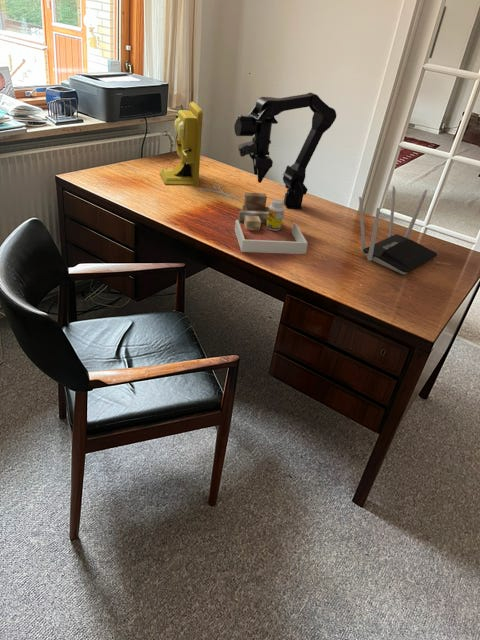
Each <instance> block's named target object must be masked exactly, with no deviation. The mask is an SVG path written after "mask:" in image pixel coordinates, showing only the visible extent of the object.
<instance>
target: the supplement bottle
mask: <svg viewBox="0 0 480 640" xmlns="http://www.w3.org/2000/svg"><path fill="white" fill-rule="evenodd" d="M283 205H284V200H281V199H278V198H277V199H272V201H271V204H270V205H269V206H268V208H269V210H268V216H267V223H265V227H266V229H268V230H269V231H274V232H277V231H279V230H281V229H282V226H283V220H284V213H285V207H284V206H283Z"/></svg>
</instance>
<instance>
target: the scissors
mask: <svg viewBox="0 0 480 640" xmlns="http://www.w3.org/2000/svg"><path fill="white" fill-rule="evenodd" d="M218 186H219V187H218ZM212 187H213V189H217V188H218V190H219V191H218V190H217V191H216V190H211V189H209V188H199V187H197V188H196V190H201V191H202V190H203V191H202V192H206V191H208V192H211V191H212V193H218V194H220V195H224V196H225V197H227V198H229V199H231V200H233V201H234V202H237V200H235V199H239V200H241V198H240V197H237V196H234V195H231V194H229V193H226V192H225V191H223V190H222V189H221V186H220V185H217V184H214V185H212ZM232 197H233V198H232ZM234 198H235V199H234Z"/></svg>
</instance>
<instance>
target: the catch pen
mask: <svg viewBox="0 0 480 640" xmlns="http://www.w3.org/2000/svg"><path fill="white" fill-rule="evenodd" d="M291 228H292V229H291V235H292V236H293V238H294V240H295V241H291V240H290V241H289V240H269V239H268V240H265V239H263V240H260V239H245V235H244V233H243V230H242V227H241V224H240V222H239V220H238V219H235V224H234V232H235V233H234V234H235V235H236V239H237V241H238V245H239V247H240V248H239V249H240V251H241V253H262V254H290V255H292V254H293V255H306V254H307V248H308V241H307V240H306V237H305V236H304V235H303V233H302V231H301V230H300V228H299V226H298V224H297V223H296V222H295V221H294V222H293V223H292V227H291Z"/></svg>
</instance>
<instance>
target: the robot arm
mask: <svg viewBox="0 0 480 640" xmlns="http://www.w3.org/2000/svg"><path fill="white" fill-rule="evenodd" d="M255 102H256V103H255V105H254V107H253V108H252V110H250V112H249V113H248V115H242V114H239V115H237V119H236V120H235V122H234V126H233V127H234V133H235V134H234V135H235V136H237V137H251V138H252V139H251V141H247V142H243V143H239V144H238V145H237V149H238V152H239V155H240V157H245V156H247V155H249V157H250V158H251V160H252V166H253V174H254V175H256V176H257V182H258V183H259V184H260V183H262V181H263V180H264V179H265V177H266V175H267V173H268V172H269V171H270V169H272V167H273V165H274V164H273V163H274V162H273V159H272V158H271V157H270V151H269V149H270V145H271V144H272V140H271V134H272V126H273V125H274V124H275V125H277V124H279V123H278V120H277V119H276V118H275V116H278V115H279V114H281V113H283V112H286V111H291V110H296V109H303V108H308V107H309V109H310V111H312V113H313V114H312V119H311V128H310V130H309V133H308V135H307V137H306V139H305V140H304V142H303V145H302V147H301V150H300V151H299V153H298V155H297V157H296V159H295V162H294V163H293V164H291V166H290V165H287V166H286V168H285V171H284V172H283V173H282V176H283V177H282V181H283V184H284V186H285V188H286V192H285V193H284V199H283V205H284V206H285V207H286V208H287V209H297V210H298V209H299V210H302V209H303V206H302V203H303V199H304V195H306V194H307V192H308V188H307V186H306V184H304V182H305V180H306V172H307V171H306V170H307V166H308V165H309V163H310V161H311V159H312V157H313V155H314V153H315V151H316V149H317V147H318V144H319V142H320V141H321V139H322V137H323V135H324V133H326V132H327V131H328V130H329V129H330V128H331V127H332V125H333V124H334V123H335V120H336V119H337V112H336V110H335V108H333V107H330V106H329V105H328V104H327V103H325V101H324V100H322V98H321V97H320V96H319V95H318V94H315V93H314V92H307V93H304V94H297V95H291V96H286V97H273V96H272V97H271V96H261V97H258V99H257V101H255ZM252 136H253V137H252Z"/></svg>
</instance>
